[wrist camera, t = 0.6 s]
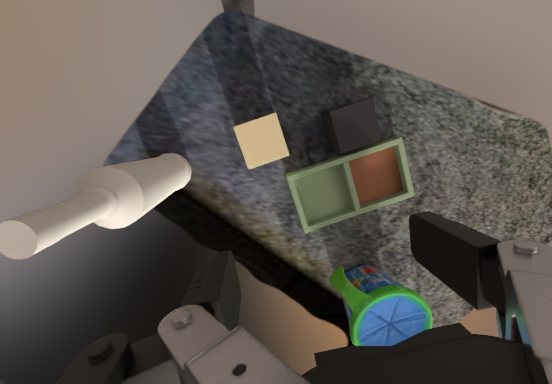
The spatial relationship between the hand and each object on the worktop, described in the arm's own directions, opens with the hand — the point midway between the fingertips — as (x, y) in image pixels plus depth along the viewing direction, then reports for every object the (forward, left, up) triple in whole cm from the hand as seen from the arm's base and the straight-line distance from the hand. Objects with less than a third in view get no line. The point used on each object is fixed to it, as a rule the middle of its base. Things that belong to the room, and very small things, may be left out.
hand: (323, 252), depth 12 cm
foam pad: (-5, -1, -27) cm, 28 cm away
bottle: (-5, -14, -27) cm, 31 cm away
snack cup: (+22, +7, -27) cm, 36 cm away
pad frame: (+5, +9, -27) cm, 29 cm away
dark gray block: (-3, +11, -27) cm, 29 cm away
